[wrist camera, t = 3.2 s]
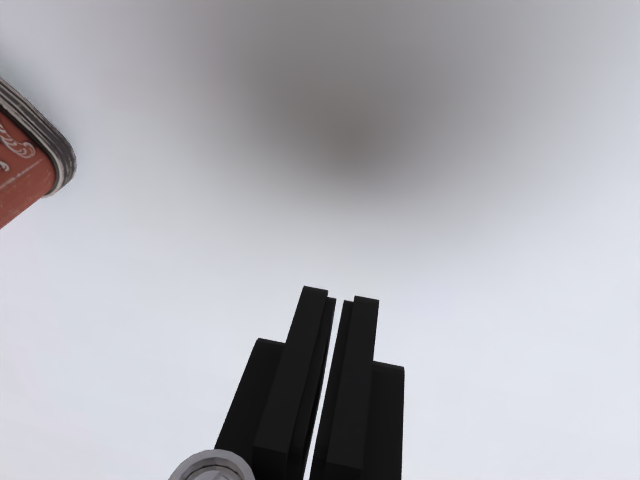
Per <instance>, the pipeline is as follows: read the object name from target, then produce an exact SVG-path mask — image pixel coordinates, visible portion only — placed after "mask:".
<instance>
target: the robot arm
mask: <svg viewBox="0 0 640 480" xmlns="http://www.w3.org/2000/svg"><path fill="white" fill-rule="evenodd" d="M327 296H328V290H324V289H318V288H313V287H308V286H304V287H303V289H302V293H301V296H300V299H299V302H298V305H297V308H296V311H295V315H294V318H293V321H292V324H291V327H290V330H289V333H288V337H287V340H286V343H282V342H277V341H272V340H267V339H262V338H258V339H257V341H256V343H255V345H254V347H253V350H252V352H251V355H250V358H249V360H248V363H247V365H246V368H245V370H244V373H243V375H242V378H241V381H240V383H239V386H238V388H237V391H236V393H235V396H234V399H233V401H232V404H231V406H230V409H229V411H228V414H227V416H226V419H225V422H224V424H223V427H222V429H221V432H220V434H219V437H218V439H217V442H216V445H215V447H214V450H205V451H202V452H199V453H196V454H193V455H192V456H190V457H189V458H187V459H186V460H184V461H183V462H182V463H181V464H180V465H179V466H178V467H177V468H176V470H175V471H174V472H173V473H172V475H171V476H170V478H169V479H168V480H303V477H304V472H305V467H306V463H307V458H308V453H309V448H310V444H311V439H312V434H313V429H314V424H315V420H316V415H317V410H318V405H319V400H320V395H321V390H322V385H323V379H324V373H325V367H326V361H327V354H328V348H329V342H330V336H331V330H332V323H333V317H334V311H335V305H336V298H330V297H327ZM378 308H379V300H376V299H371V298H366V297H360V296H355V297H354V302H351V301H346V300H344V303H343V308H342V313H341V318H340V323H339V328H338V333H337V338H336V343H335V348H334V353H333V358H332V363H331V368H330V373H329V378H328V383H327V388H326V393H325V399H324V404H323V409H322V414H321V419H320V424H319V429H318V434H317V439H316V444H315V449H314V455H313V460H312V466H311V472H310V478H309V480H401V473H402V441H403V410H404V378H405V373H404V367H402V366H397V365H392V364H387V363H382V362H377V361H373V355H374V346H375V336H376V327H377V317H378Z"/></svg>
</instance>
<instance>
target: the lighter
mask: <svg viewBox="0 0 640 480" xmlns="http://www.w3.org/2000/svg"><path fill="white" fill-rule="evenodd" d="M75 171H76V157H75V155H74V152H73V150H72V147H71V146H70V144H69V143H68V142H67V140H66V139H65V138H64V137H63V136H62V135H61V134H60V133H59V132H58V131H57V130H56V129H55V128H54V127H53V126H52V125H51V124H50V123H49V122H48V121H47V120H46V119H45V118H44V117H43V116H42V115H41V114H40V113H39V112H38V111H37V110H36V109H35V108H34V107H33V106H32V105H31V104H30V103H29V102H28V101H27V100H26V99H25V98H24V97H22V96H21V95H20V94H19V93H18V92H16V91H15V90H14V89H13V88H12V87H11V86H9V85H8V84H7V83H6V82H5V81H4V80H2V79H1V78H0V229H1V228H2V227H4V226H5V225H6V224H8V223H9V222H10V221H11V220H13V219H14V218H15V217H17V216H18V215H19V214H20V213H22V212H23V211H24V210H26V209H27V208H28V207H29V206H31V205H32V204H33V203H34V202H36V201H37V200H38V199H40V198H46V197H49V196H52V195H53V194H55V193H56V192H57V191H58V190H60V189H61V188H62V187H63V186H65V185H66V184H67V183H68V182H69V181H70V180H71V179H72V178H73V176H74V173H75Z"/></svg>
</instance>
